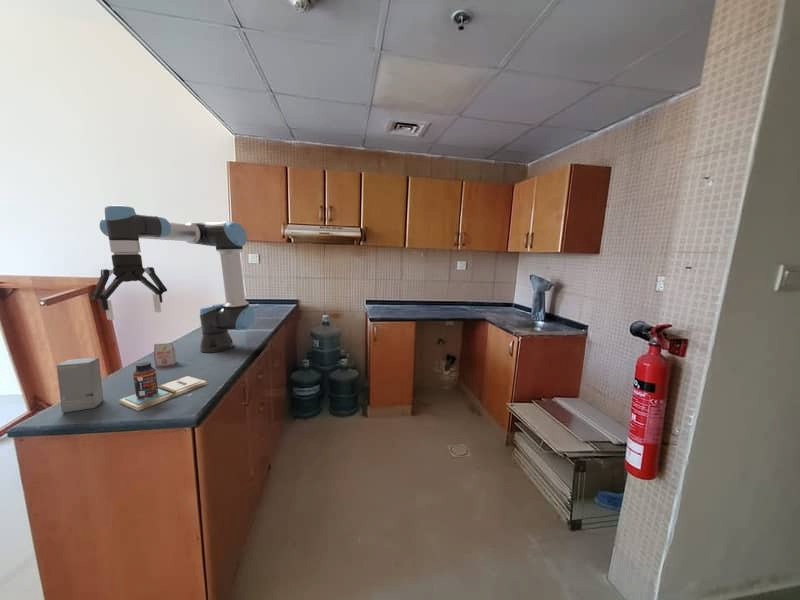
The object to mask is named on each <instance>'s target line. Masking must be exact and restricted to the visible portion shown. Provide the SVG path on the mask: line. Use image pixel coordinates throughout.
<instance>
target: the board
mask: <svg viewBox="0 0 800 600" xmlns="http://www.w3.org/2000/svg"><path fill="white" fill-rule="evenodd" d="M185 377H190V378H193V379H197V380H200V381H201V382H199V383H196V384H193V385H191V386H188V387H185V388H183V389H180V390H177V391H174V390H171V389H168V388H165V387H163V386H162V385H165V384H168V383H171V382H174V381H177V380H179V379H182V378H185ZM207 384H208V383H207V381H206V380H203V379H200V378H197V377H192V376H190V375H187V376H183V377H180V378H178V379H176V380H175V379H174V380H172V381H170V382H166V383H163V384H161V385H159V384H157V385H158V389H160V390H163V391H166V392H169V394H167V395H164V396H162V397H159V398H156V399H154V400H151V401H148V402H146V403H143V404H140V405H137V404H135V403H133V402H130V401H128V400H125V398H128V397H131V396H134V395H136V393H135V394H131V395H129V396H127V397H123V398H120V399H118V402H119V404H121V405H123V406H126V407H128V408H130V409H133V410H135V411H138V412H139V411H141V410H144V409H147V408H149V407H151V406H154V405H157V404H159V403H162V402H164V401H167V400H170V399H172V398H174V397H178V396H180V395H182V394H184V393H188V392H190V391H193V390H196V389H198V388H201V387H203V386H206V385H207Z"/></svg>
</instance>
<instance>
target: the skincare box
mask: <svg viewBox="0 0 800 600" xmlns="http://www.w3.org/2000/svg"><path fill="white" fill-rule="evenodd" d="M56 371H57V372H56V373H57V382H58V390H59V398H60V399H59V400H60V408H61V412H62V414H65V413H64V412H66V413H71V412H77V411H83V410H89V409H96V407H97V406H99V405H100V404H102V402H103V401H104V391H103V381H102V375H101V374H102V373H101V365H100V357H89V358H88V357H82V358H75V359H67V360H65V361H62V362H60V363H58V364H57V365H56ZM62 401H63V402H62Z"/></svg>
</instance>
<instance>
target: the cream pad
mask: <svg viewBox="0 0 800 600" xmlns="http://www.w3.org/2000/svg"><path fill="white" fill-rule="evenodd" d="M184 377H185V378H183V377H181V378H182V379H180V378H178V379H179V380H177V379H176V380H177V381H175V380H173V381H174V382H172V381H170V382H171V383H169V382H167V383H168V384H166V383H164V384H165V385H163V384H161V385H162V386H163V387H165V388H168V389H171V390H174V391H177V390H180V389H183V388H185V387H188V386H191V385H193V384H196V383H199V382H201V381H200V380H201V379H200V380H197V379H198V378H197V379H193V378H190V377H191V376H190V377H186V376H184Z"/></svg>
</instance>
